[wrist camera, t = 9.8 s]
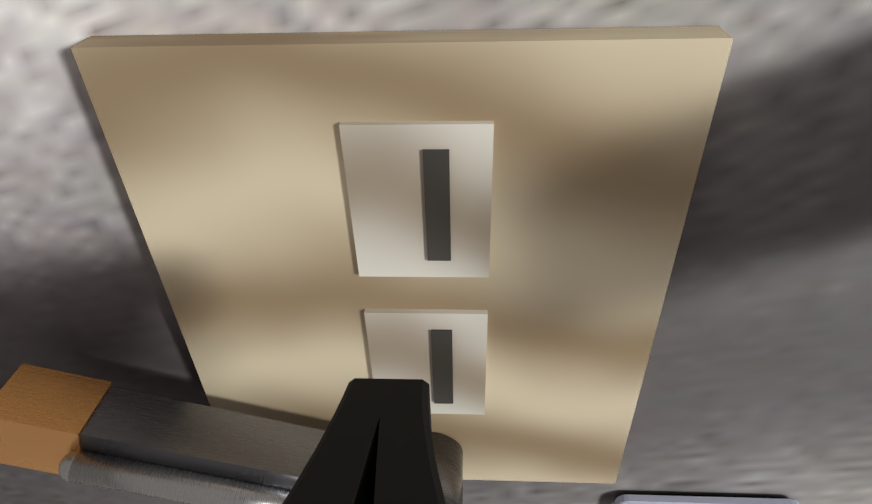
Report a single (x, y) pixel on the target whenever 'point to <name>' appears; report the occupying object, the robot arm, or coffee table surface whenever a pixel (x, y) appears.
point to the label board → (419, 218)
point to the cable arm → (163, 442)
